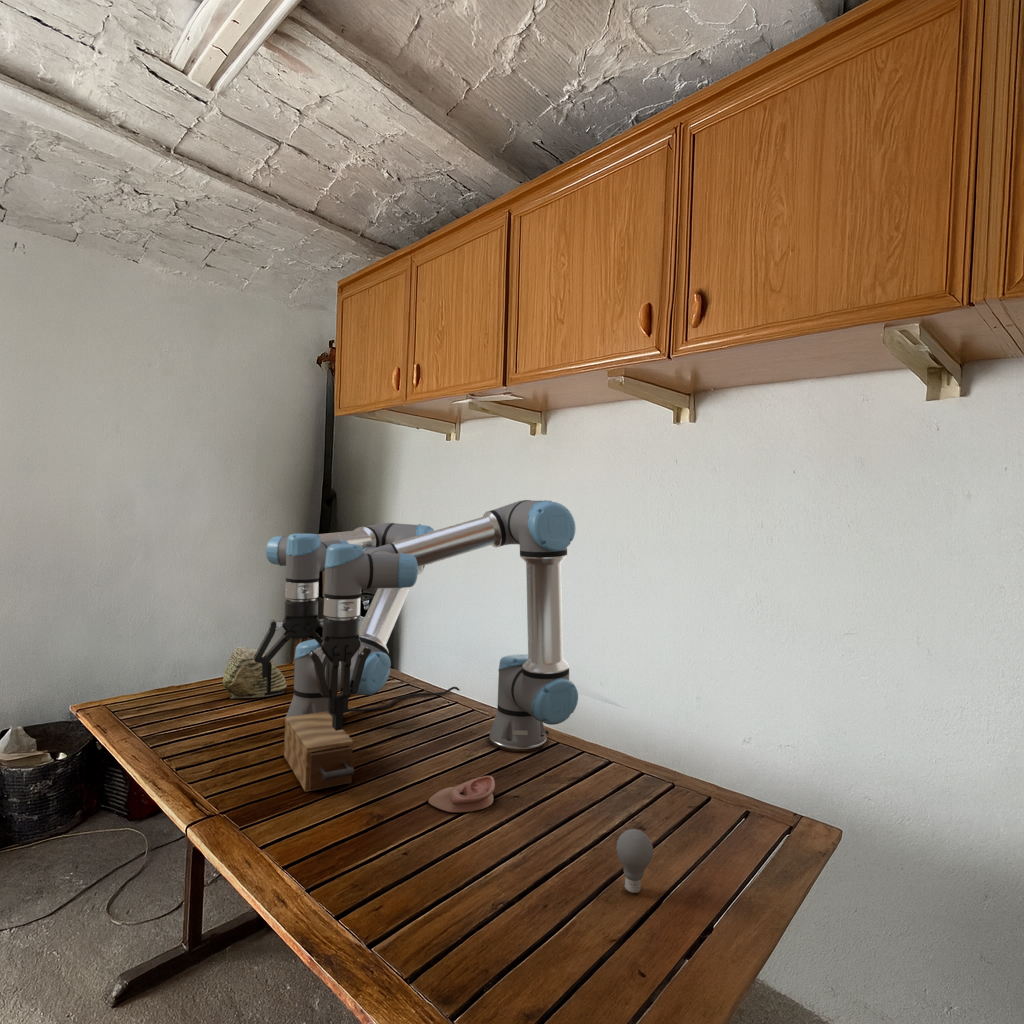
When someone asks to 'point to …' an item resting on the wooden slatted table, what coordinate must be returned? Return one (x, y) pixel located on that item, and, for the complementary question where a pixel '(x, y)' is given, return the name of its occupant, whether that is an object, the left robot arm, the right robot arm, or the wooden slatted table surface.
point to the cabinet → (310, 742)
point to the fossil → (250, 676)
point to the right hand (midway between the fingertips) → (337, 727)
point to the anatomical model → (465, 796)
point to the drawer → (330, 767)
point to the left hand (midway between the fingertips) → (299, 688)
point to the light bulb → (634, 857)
